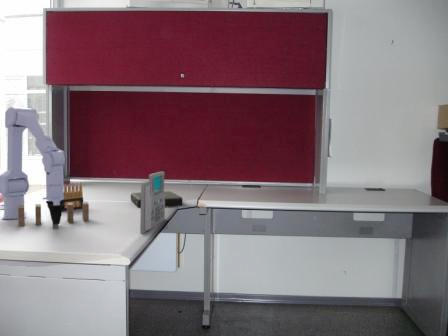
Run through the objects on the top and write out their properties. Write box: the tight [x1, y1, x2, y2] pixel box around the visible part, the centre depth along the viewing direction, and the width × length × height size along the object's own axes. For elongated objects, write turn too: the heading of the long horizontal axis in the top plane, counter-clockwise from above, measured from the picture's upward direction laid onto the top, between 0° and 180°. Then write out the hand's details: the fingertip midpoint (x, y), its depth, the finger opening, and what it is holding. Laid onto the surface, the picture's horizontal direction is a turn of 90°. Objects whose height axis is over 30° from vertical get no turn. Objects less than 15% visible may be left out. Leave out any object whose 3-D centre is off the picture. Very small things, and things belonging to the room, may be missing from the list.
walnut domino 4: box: [81, 201, 90, 223], centre depth 155 cm, size 5×2×7 cm, turn 25°
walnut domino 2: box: [34, 203, 42, 226], centre depth 148 cm, size 5×2×7 cm, turn 25°
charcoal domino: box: [52, 223, 60, 230], centre depth 143 cm, size 5×2×7 cm, turn 25°
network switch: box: [130, 190, 183, 209], centre depth 195 cm, size 23×23×5 cm
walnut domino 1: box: [17, 204, 26, 227], centre depth 146 cm, size 5×2×7 cm, turn 25°
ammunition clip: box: [61, 182, 84, 212], centre depth 175 cm, size 11×2×12 cm, turn 138°
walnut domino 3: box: [66, 203, 74, 224], centre depth 153 cm, size 5×2×7 cm, turn 25°
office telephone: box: [139, 171, 166, 234], centre depth 147 cm, size 23×3×20 cm, turn 170°
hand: (55, 221), depth 143 cm, fingers open, 7 cm apart
